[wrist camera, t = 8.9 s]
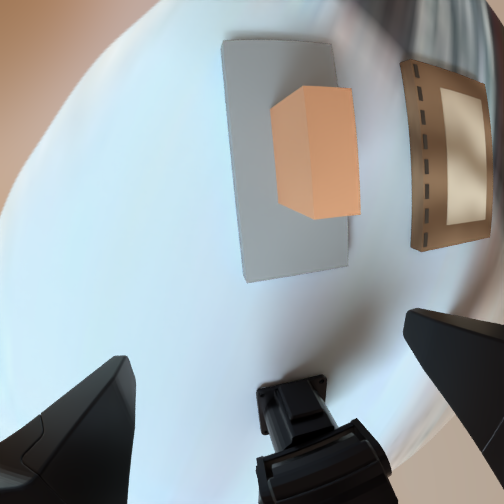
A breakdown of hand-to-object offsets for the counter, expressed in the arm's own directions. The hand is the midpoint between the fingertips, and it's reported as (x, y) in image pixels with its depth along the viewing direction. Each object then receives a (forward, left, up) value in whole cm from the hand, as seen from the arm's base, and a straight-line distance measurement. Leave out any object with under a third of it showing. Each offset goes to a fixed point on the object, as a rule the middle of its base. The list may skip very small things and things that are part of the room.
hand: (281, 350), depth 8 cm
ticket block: (+6, -21, -13) cm, 25 cm away
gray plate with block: (+6, -4, -13) cm, 15 cm away
